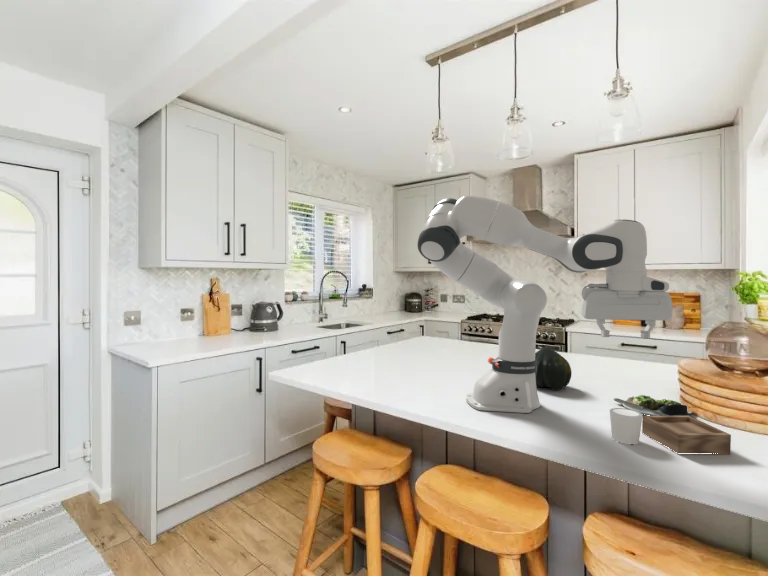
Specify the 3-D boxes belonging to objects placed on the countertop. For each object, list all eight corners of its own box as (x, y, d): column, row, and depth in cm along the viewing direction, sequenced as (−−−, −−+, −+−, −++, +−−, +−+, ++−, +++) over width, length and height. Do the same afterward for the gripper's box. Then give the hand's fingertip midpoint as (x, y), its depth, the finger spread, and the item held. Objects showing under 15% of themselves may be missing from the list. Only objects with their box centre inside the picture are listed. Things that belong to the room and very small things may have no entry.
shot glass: (626, 447, 92) (626, 418, 92) (602, 436, 99) (603, 408, 98) (648, 444, 94) (649, 415, 94) (624, 433, 101) (624, 406, 100)
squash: (554, 380, 130) (567, 343, 136) (514, 373, 142) (528, 339, 148) (569, 402, 137) (581, 366, 143) (530, 394, 148) (543, 360, 155)
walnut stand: (678, 454, 88) (678, 435, 88) (642, 433, 100) (642, 415, 100) (730, 454, 89) (730, 434, 89) (688, 432, 101) (688, 415, 101)
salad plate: (606, 411, 118) (607, 395, 118) (621, 397, 131) (621, 383, 131) (687, 428, 105) (688, 411, 105) (694, 411, 118) (695, 396, 118)
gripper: (586, 283, 99) (585, 338, 99) (676, 283, 95) (675, 340, 96) (578, 283, 105) (577, 334, 106) (662, 283, 102) (662, 336, 102)
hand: (625, 337), depth 101 cm, fingers open, 8 cm apart
